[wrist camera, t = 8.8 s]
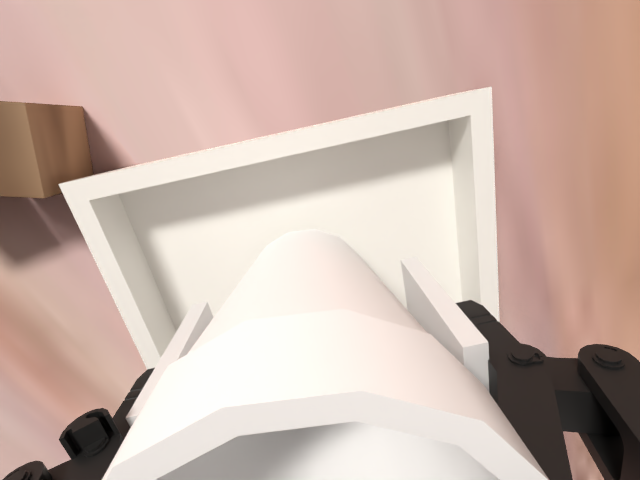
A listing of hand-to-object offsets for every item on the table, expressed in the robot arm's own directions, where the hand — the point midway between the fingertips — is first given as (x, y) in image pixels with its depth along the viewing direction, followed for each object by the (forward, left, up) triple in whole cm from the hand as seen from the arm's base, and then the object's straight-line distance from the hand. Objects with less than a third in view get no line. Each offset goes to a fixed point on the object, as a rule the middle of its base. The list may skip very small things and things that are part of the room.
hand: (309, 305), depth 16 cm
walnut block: (-12, +10, -5) cm, 16 cm away
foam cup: (0, 0, -3) cm, 3 cm away
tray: (0, 0, -5) cm, 5 cm away
